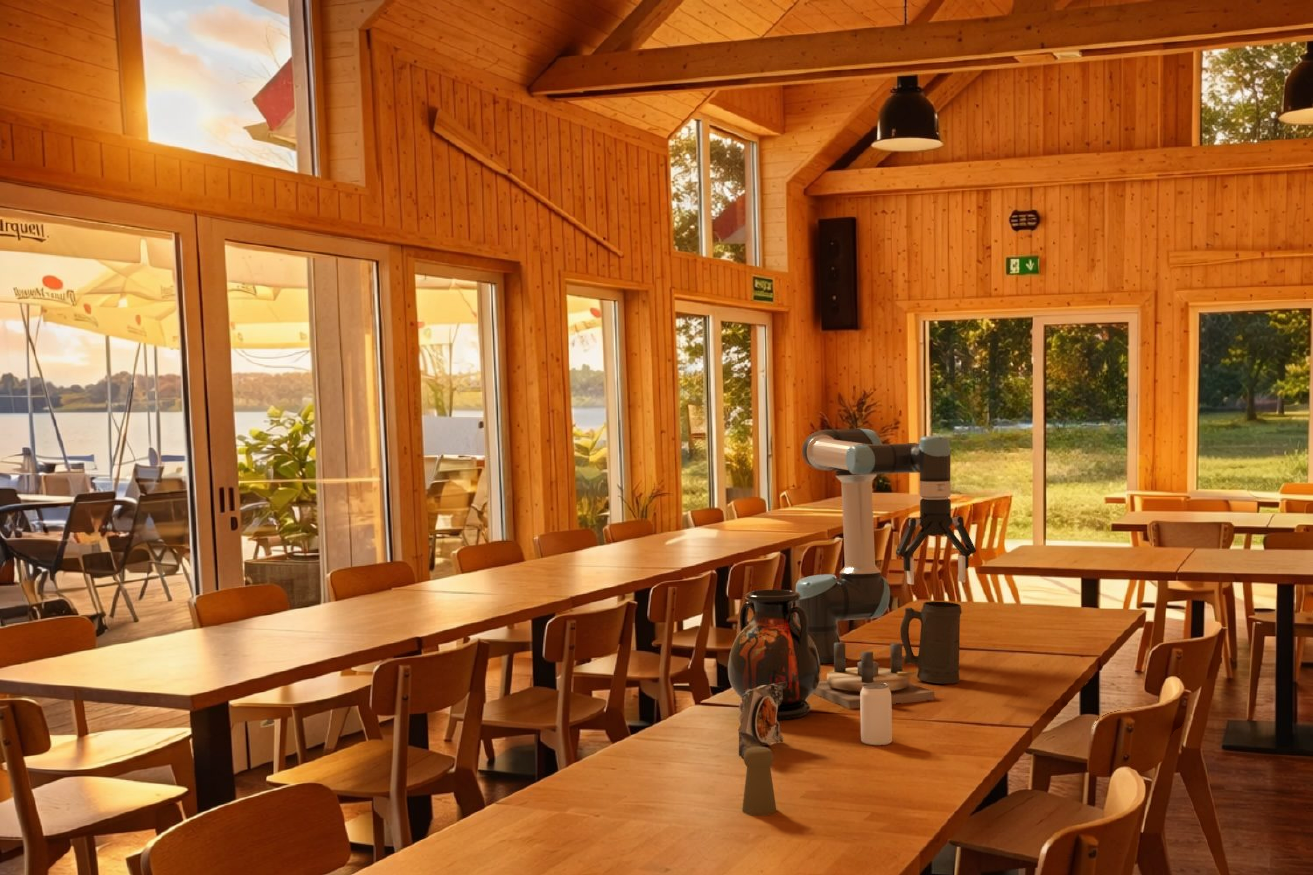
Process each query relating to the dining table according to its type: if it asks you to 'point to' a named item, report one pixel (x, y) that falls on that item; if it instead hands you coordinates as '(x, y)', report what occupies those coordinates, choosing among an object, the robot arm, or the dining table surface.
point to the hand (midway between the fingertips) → (936, 582)
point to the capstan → (868, 670)
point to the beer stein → (935, 641)
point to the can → (876, 714)
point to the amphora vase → (775, 651)
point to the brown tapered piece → (758, 782)
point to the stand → (853, 697)
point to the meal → (760, 717)
